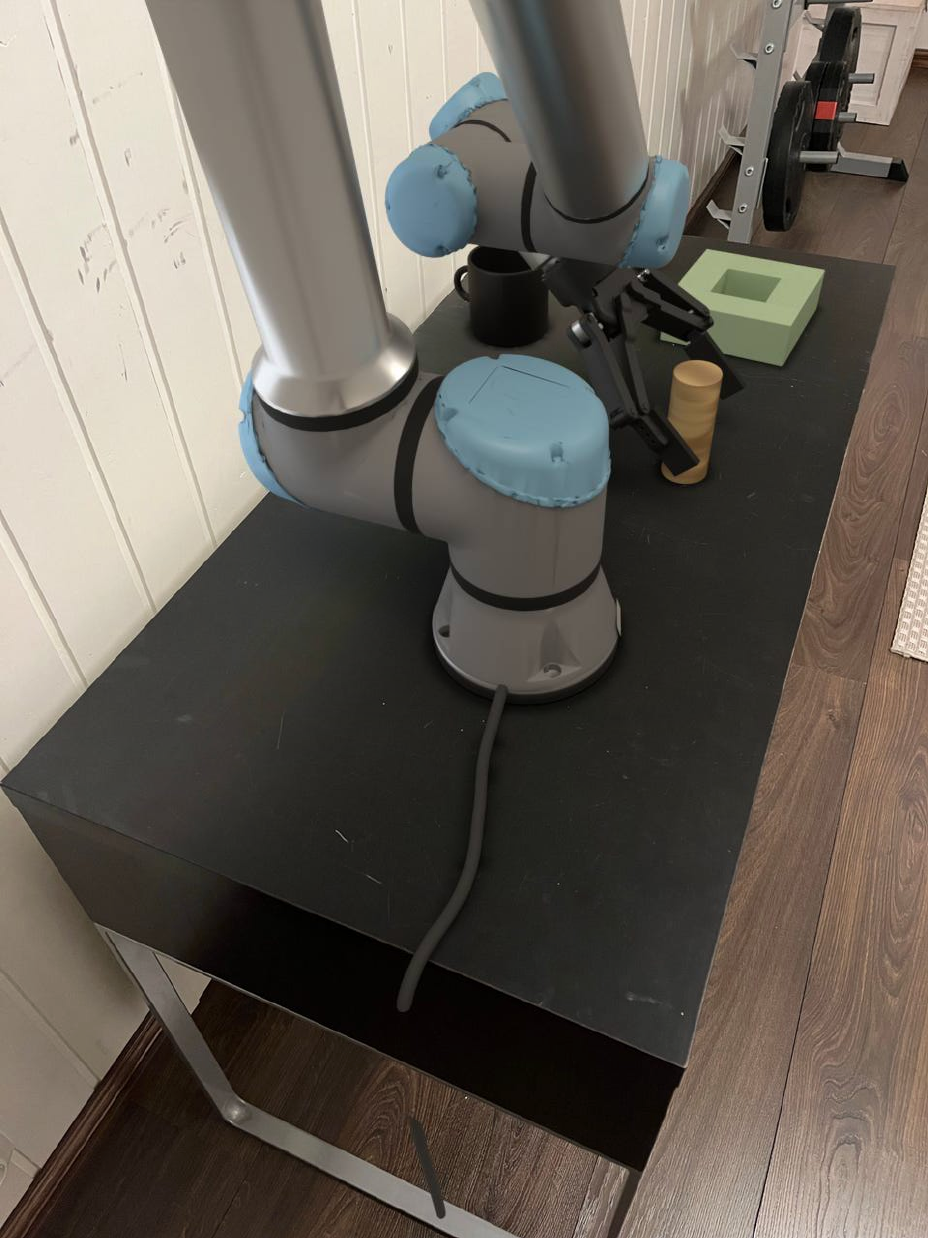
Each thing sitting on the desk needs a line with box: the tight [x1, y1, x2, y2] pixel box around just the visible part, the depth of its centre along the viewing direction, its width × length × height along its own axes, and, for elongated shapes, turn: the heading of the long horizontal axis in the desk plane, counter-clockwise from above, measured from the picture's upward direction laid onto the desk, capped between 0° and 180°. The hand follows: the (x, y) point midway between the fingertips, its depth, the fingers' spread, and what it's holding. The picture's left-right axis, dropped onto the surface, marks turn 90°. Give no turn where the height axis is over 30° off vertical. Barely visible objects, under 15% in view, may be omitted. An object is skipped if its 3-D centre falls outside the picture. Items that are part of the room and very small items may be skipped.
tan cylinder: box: [661, 359, 723, 485], centre depth 89 cm, size 4×4×11 cm
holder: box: [660, 248, 826, 367], centre depth 111 cm, size 14×14×5 cm
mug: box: [453, 245, 550, 347], centre depth 112 cm, size 9×12×9 cm
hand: (712, 429), depth 89 cm, fingers open, 13 cm apart
